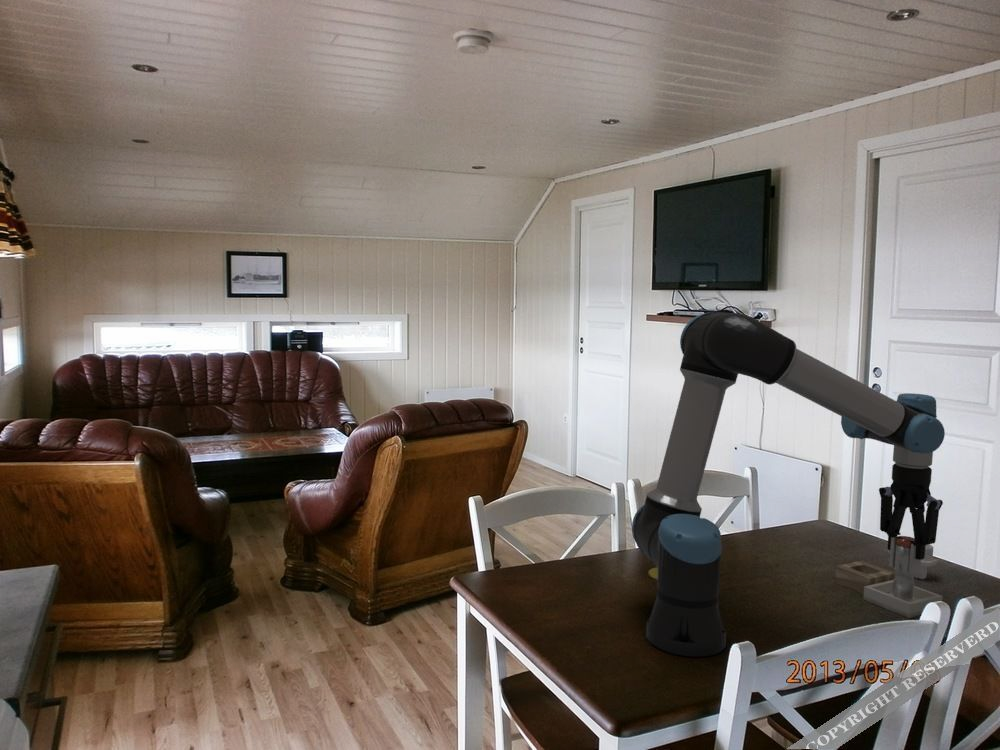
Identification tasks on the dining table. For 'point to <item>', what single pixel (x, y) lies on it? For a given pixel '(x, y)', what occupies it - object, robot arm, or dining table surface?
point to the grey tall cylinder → (903, 569)
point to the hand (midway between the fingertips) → (904, 568)
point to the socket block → (861, 575)
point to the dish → (905, 607)
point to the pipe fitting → (926, 562)
